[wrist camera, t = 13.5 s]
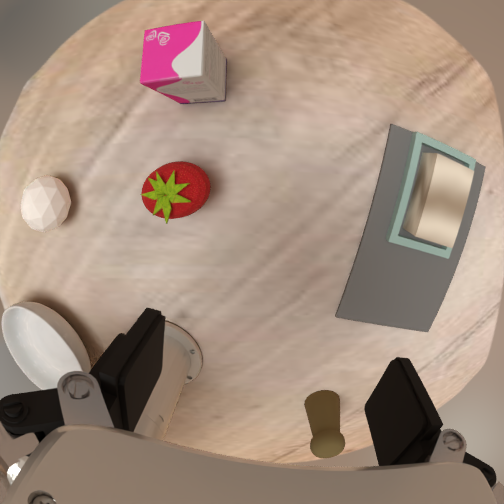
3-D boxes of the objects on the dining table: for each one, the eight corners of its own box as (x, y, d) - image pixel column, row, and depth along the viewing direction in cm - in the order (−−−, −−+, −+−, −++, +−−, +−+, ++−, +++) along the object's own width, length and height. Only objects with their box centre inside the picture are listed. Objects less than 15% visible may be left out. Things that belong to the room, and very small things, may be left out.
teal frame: (444, 256, 35) (448, 258, 34) (385, 239, 35) (388, 241, 34) (471, 159, 30) (476, 159, 29) (412, 132, 30) (416, 131, 29)
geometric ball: (66, 184, 39) (38, 156, 31) (89, 210, 37) (58, 181, 29) (35, 220, 37) (4, 197, 30) (56, 250, 35) (20, 228, 28)
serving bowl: (11, 282, 43) (-12, 297, 37) (89, 297, 42) (66, 318, 35) (39, 367, 50) (23, 384, 43) (114, 391, 49) (100, 415, 42)
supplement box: (227, 56, 30) (206, 19, 19) (226, 101, 32) (203, 79, 21) (180, 60, 30) (142, 29, 19) (178, 104, 32) (138, 87, 21)
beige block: (422, 152, 31) (437, 153, 27) (457, 168, 31) (474, 171, 27) (402, 227, 34) (415, 236, 30) (437, 239, 34) (452, 248, 30)
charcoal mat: (427, 330, 39) (428, 332, 39) (335, 315, 39) (335, 317, 39) (483, 166, 31) (485, 166, 30) (390, 124, 31) (391, 123, 30)
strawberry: (224, 201, 35) (206, 219, 26) (167, 214, 36) (132, 236, 27) (214, 153, 34) (190, 154, 24) (156, 169, 35) (117, 176, 25)
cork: (309, 388, 44) (314, 441, 33) (344, 391, 44) (355, 442, 33) (300, 411, 46) (302, 462, 35) (333, 414, 46) (340, 463, 35)
